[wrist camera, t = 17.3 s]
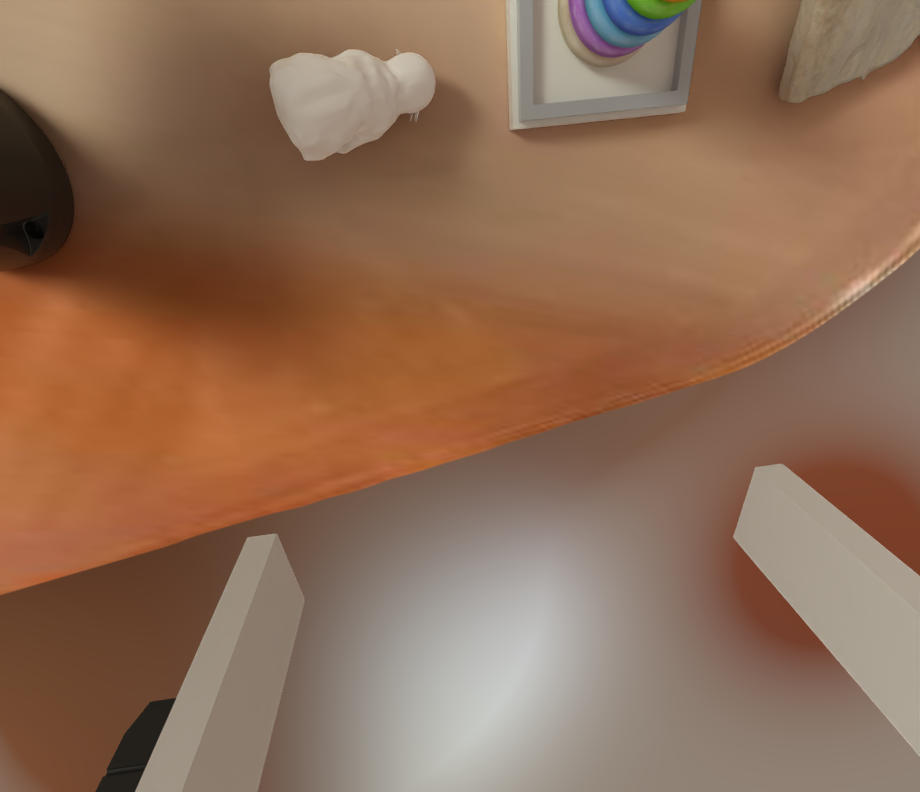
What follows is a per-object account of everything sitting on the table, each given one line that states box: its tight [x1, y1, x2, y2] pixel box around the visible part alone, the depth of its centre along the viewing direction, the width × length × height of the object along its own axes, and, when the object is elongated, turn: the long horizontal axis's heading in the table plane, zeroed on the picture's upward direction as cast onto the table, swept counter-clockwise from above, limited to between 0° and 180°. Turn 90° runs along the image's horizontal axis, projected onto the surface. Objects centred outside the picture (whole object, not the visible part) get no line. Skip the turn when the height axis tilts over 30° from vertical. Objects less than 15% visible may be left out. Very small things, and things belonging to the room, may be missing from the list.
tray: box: [506, 0, 702, 130], centre depth 33 cm, size 15×15×2 cm
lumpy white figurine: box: [269, 48, 436, 161], centre depth 32 cm, size 6×8×12 cm
